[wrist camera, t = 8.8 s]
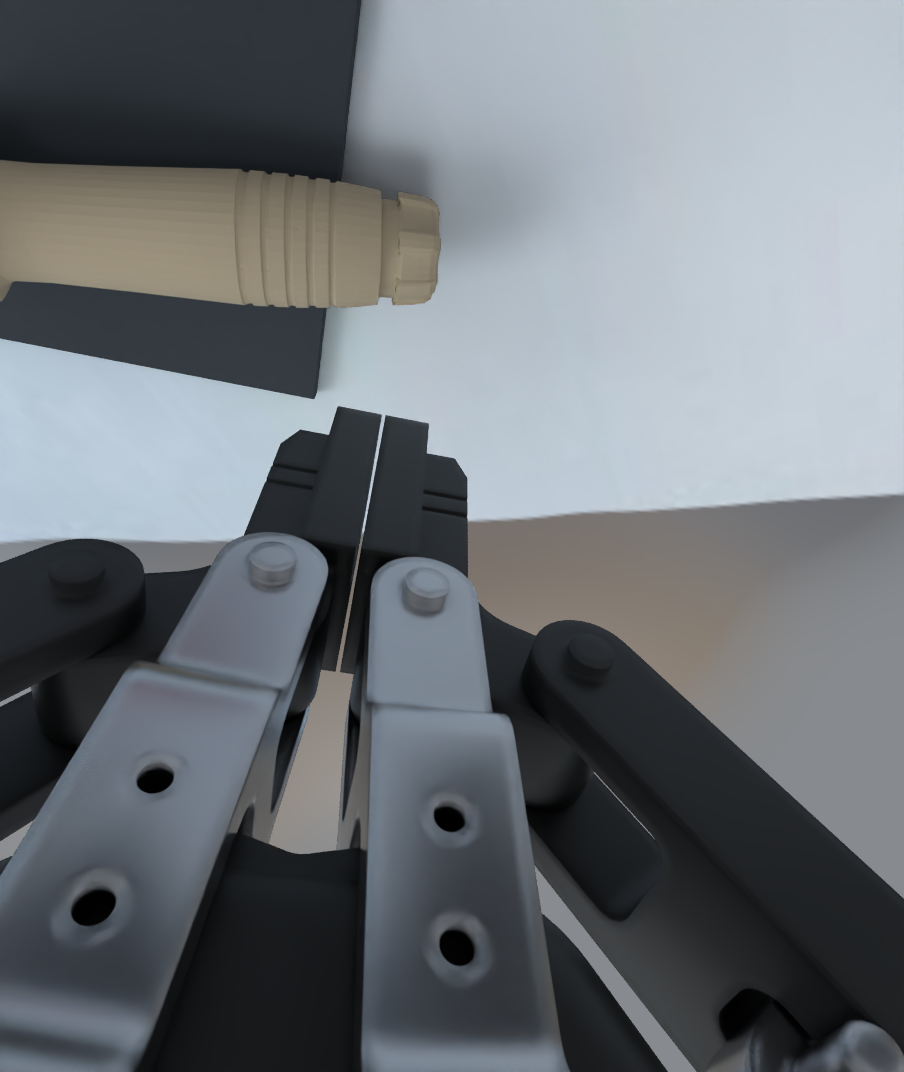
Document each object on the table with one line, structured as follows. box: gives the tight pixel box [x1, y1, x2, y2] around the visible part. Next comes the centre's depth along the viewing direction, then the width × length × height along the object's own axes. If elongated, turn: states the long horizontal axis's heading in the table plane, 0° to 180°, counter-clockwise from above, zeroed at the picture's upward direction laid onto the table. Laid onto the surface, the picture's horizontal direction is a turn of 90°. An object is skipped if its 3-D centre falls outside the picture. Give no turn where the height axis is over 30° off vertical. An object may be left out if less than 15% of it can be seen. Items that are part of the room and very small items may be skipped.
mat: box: [0, 0, 361, 399], centre depth 23 cm, size 20×14×1 cm
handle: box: [0, 160, 441, 308], centre depth 22 cm, size 5×6×15 cm
